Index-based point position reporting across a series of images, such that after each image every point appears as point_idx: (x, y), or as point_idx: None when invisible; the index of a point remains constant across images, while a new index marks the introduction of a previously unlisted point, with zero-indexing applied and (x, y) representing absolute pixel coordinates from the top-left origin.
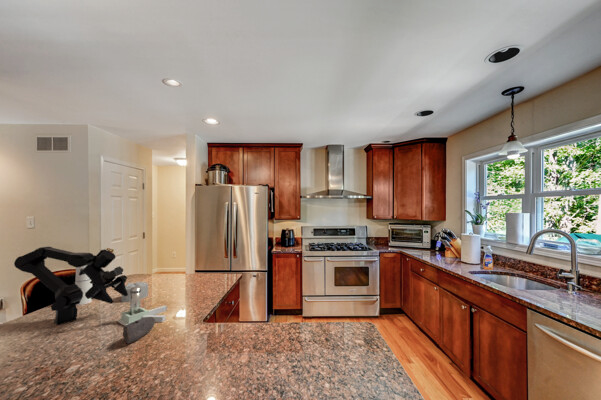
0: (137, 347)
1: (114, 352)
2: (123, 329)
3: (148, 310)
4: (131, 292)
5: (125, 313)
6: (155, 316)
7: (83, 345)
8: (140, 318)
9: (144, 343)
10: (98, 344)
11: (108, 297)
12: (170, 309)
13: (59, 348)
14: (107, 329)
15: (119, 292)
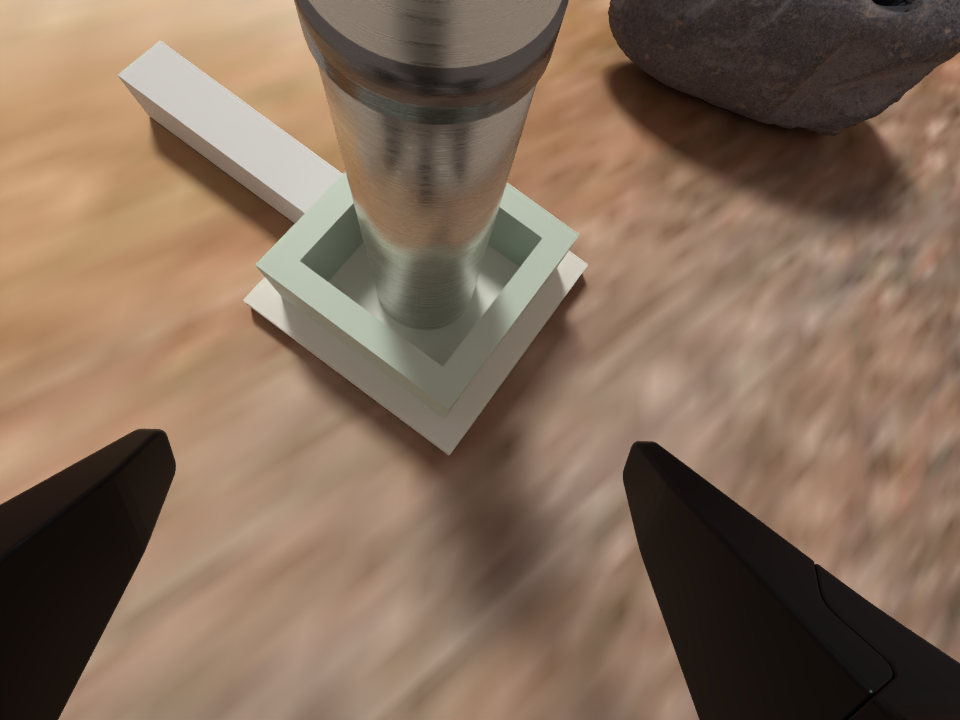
0: None
1: (920, 143)
2: (951, 55)
3: (282, 189)
4: (557, 33)
5: (473, 340)
6: None
7: (886, 424)
8: None
9: None
10: (857, 317)
11: (774, 535)
12: None
13: (953, 593)
14: (623, 433)
15: (51, 718)
